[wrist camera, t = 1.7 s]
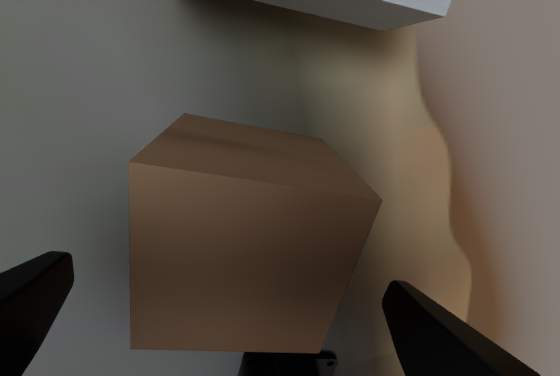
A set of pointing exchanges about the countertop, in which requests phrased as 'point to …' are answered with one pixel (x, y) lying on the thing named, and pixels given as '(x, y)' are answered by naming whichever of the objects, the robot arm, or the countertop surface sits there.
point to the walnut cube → (241, 238)
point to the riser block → (370, 11)
